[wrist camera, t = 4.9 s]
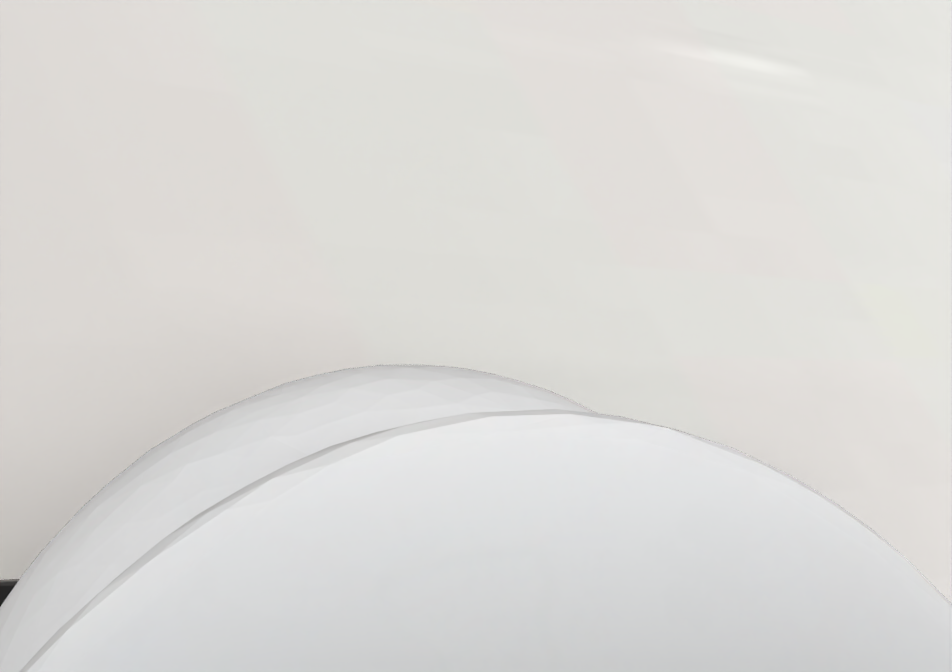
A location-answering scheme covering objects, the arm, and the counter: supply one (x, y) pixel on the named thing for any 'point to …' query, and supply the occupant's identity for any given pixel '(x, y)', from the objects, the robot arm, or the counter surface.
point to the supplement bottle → (462, 547)
